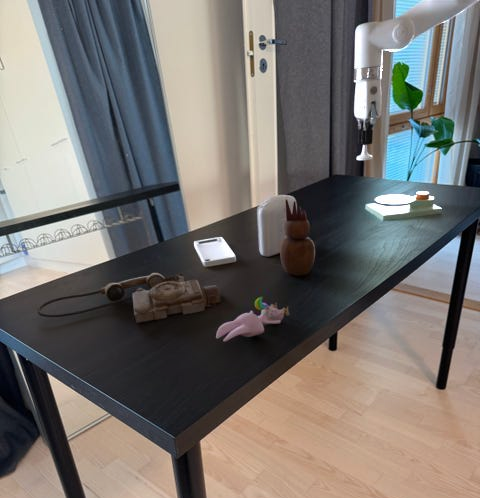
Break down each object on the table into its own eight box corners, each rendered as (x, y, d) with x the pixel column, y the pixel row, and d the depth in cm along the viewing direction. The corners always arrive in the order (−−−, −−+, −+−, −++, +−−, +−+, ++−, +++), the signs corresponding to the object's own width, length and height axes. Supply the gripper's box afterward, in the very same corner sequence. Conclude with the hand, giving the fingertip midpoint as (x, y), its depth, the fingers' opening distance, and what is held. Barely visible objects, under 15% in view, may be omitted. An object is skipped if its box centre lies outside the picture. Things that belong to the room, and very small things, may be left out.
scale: (420, 202, 120) (421, 191, 119) (443, 213, 110) (445, 201, 108) (365, 209, 119) (365, 198, 117) (382, 221, 109) (383, 209, 107)
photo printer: (286, 241, 101) (285, 190, 95) (300, 245, 98) (299, 192, 92) (256, 254, 96) (252, 200, 90) (269, 258, 93) (266, 203, 87)
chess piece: (363, 161, 128) (364, 125, 123) (353, 159, 132) (353, 124, 127) (376, 158, 129) (377, 123, 124) (365, 156, 133) (367, 122, 128)
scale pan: (403, 195, 117) (403, 192, 117) (420, 203, 109) (421, 201, 108) (368, 199, 117) (369, 197, 116) (384, 208, 108) (384, 206, 108)
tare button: (424, 197, 115) (425, 190, 114) (430, 200, 112) (431, 193, 111) (413, 198, 115) (414, 192, 114) (419, 201, 112) (420, 194, 111)
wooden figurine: (276, 275, 85) (272, 202, 77) (288, 265, 89) (286, 194, 81) (307, 280, 81) (306, 204, 74) (318, 269, 85) (319, 195, 78)
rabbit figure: (267, 316, 73) (205, 343, 63) (268, 284, 71) (204, 306, 61) (296, 326, 69) (235, 357, 59) (299, 293, 67) (236, 318, 57)
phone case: (236, 261, 93) (222, 241, 106) (236, 256, 92) (221, 236, 105) (204, 267, 92) (193, 246, 104) (203, 262, 91) (193, 241, 104)
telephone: (43, 304, 82) (36, 285, 80) (208, 275, 88) (205, 256, 85) (31, 347, 69) (22, 326, 67) (224, 309, 75) (221, 289, 73)
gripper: (392, 72, 112) (388, 145, 122) (369, 74, 126) (366, 139, 135) (365, 75, 112) (363, 148, 121) (345, 77, 126) (344, 142, 135)
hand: (365, 143), depth 128 cm, fingers closed on chess piece
